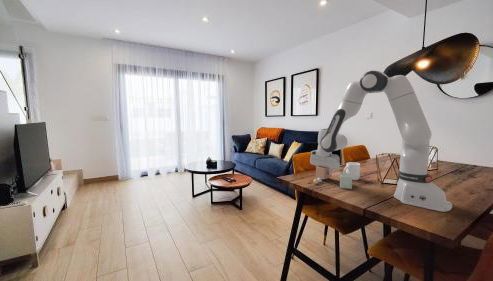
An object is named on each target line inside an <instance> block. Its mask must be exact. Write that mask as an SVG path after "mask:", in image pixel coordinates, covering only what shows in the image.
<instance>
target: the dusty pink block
mask: <svg viewBox="0 0 493 281" xmlns="http://www.w3.org/2000/svg"><path fill="white" fill-rule="evenodd" d="M327 172H329V168H326V167H322V166H318V167H316V166H315V178H316V179H318V178H321V179H322V180H327V179H330V178H332V176H333V170H332V171H331V175H328V174H327Z"/></svg>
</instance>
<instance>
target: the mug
mask: <svg viewBox="0 0 493 281" xmlns="http://www.w3.org/2000/svg"><path fill="white" fill-rule="evenodd" d="M360 172H361V163H359V162H355V161H354V162H353V161H352V162H351V161H349V162H346V165H345V167H344V168H343V173H351V175H352V181H358V180H359V179H360V174H361V173H360Z"/></svg>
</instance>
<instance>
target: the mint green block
mask: <svg viewBox="0 0 493 281" xmlns="http://www.w3.org/2000/svg"><path fill="white" fill-rule="evenodd" d="M339 188H340V189H348V190H349V189H350V190H352V188H353V180H352V175H351V173H343V172H339Z"/></svg>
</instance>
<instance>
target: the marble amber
mask: <svg viewBox="0 0 493 281" xmlns="http://www.w3.org/2000/svg"><path fill="white" fill-rule="evenodd" d="M317 179H318V178H314V179H313V183H314V184H315V185H317V184H318V183H319V182H318V180H317Z"/></svg>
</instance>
